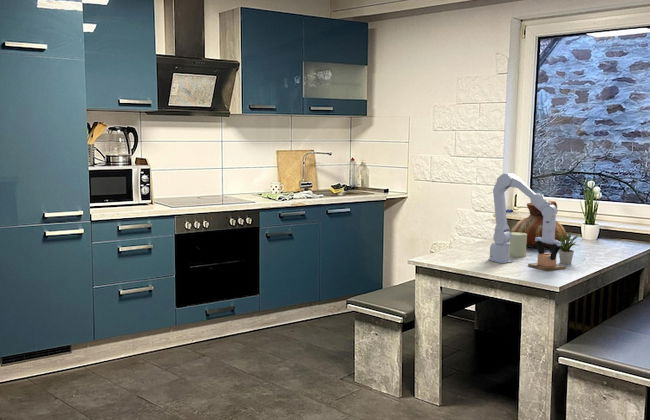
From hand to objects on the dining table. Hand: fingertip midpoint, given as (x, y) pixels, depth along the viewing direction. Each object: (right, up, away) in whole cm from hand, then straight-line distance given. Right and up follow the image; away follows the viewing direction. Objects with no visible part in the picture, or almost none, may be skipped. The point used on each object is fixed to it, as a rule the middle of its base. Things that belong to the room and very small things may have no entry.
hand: (547, 258), depth 315 cm
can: (-6, -1, +29) cm, 29 cm away
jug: (+14, +3, +57) cm, 59 cm away
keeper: (0, -4, +1) cm, 4 cm away
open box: (0, -3, 0) cm, 3 cm away
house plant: (+13, -4, +10) cm, 17 cm away
